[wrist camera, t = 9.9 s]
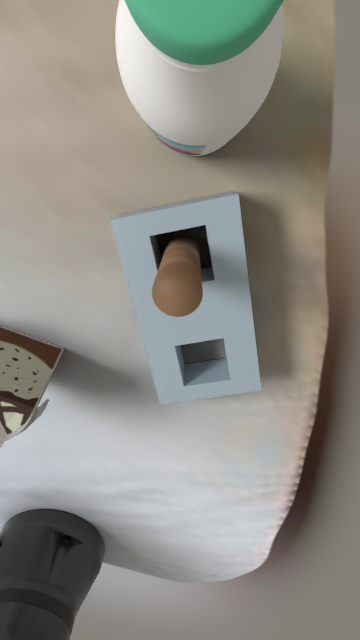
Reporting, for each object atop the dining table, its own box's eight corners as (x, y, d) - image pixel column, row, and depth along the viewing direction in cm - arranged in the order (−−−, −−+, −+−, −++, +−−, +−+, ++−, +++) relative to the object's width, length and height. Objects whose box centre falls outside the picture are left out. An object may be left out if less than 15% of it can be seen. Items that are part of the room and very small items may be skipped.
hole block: (254, 368, 35) (261, 390, 31) (163, 381, 36) (160, 404, 32) (232, 191, 28) (238, 193, 24) (119, 214, 29) (109, 220, 25)
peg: (201, 262, 31) (206, 312, 20) (169, 268, 31) (157, 320, 20) (196, 230, 29) (198, 264, 18) (163, 236, 30) (146, 273, 19)
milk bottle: (222, 16, 23) (341, -551, 5) (258, 129, 26) (417, 26, 8) (127, 72, 25) (-46, -212, 7) (171, 173, 28) (133, 173, 9)
